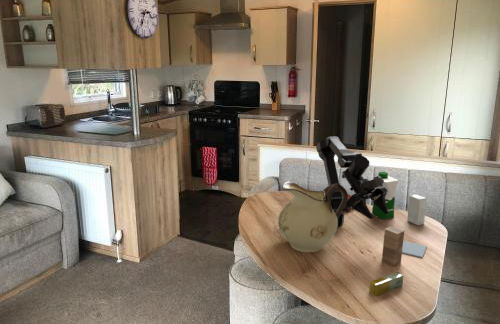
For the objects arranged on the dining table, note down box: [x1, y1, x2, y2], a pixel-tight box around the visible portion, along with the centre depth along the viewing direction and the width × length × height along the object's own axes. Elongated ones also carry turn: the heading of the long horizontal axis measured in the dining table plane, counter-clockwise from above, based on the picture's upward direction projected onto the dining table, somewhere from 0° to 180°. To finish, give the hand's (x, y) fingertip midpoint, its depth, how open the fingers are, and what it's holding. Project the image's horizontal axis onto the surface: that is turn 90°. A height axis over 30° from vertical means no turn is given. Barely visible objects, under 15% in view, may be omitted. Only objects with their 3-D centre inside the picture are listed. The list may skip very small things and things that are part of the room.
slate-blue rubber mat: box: [402, 240, 428, 259], centre depth 149 cm, size 10×10×1 cm
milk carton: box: [371, 171, 400, 220], centre depth 178 cm, size 9×9×20 cm
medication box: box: [369, 272, 404, 297], centre depth 123 cm, size 12×3×4 cm, turn 118°
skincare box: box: [406, 194, 427, 226], centre depth 172 cm, size 6×4×12 cm
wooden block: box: [381, 225, 405, 268], centre depth 138 cm, size 4×5×12 cm
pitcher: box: [277, 181, 349, 254], centre depth 150 cm, size 22×24×25 cm
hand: (379, 216), depth 144 cm, fingers open, 9 cm apart
